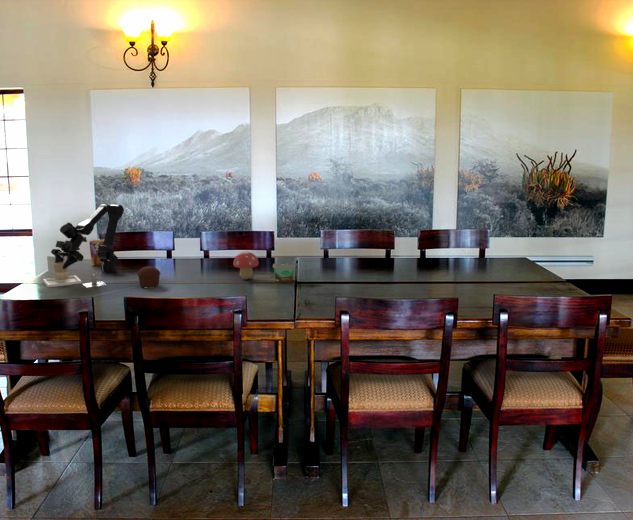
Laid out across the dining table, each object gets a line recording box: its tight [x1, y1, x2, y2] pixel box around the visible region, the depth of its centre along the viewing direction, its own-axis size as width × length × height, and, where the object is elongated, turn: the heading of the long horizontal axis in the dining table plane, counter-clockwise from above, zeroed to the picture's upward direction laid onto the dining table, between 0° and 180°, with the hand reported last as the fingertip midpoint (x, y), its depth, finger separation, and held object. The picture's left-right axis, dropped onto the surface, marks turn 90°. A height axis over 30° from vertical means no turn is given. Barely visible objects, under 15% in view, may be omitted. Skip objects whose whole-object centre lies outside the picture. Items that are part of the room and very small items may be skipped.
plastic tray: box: [42, 274, 83, 288], centre depth 300 cm, size 16×16×2 cm
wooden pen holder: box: [54, 262, 69, 280], centre depth 299 cm, size 6×6×8 cm
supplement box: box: [46, 254, 67, 278], centre depth 313 cm, size 7×7×13 cm
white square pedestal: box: [82, 273, 107, 288], centre depth 296 cm, size 10×10×6 cm
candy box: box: [89, 239, 104, 267], centre depth 348 cm, size 9×4×15 cm, turn 105°
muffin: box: [136, 266, 161, 288], centre depth 293 cm, size 12×11×10 cm
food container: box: [272, 261, 296, 284], centre depth 300 cm, size 12×6×10 cm, turn 117°
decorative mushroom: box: [233, 251, 260, 280], centre depth 307 cm, size 13×13×15 cm
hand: (58, 268), depth 298 cm, fingers closed on wooden pen holder, 6 cm apart
